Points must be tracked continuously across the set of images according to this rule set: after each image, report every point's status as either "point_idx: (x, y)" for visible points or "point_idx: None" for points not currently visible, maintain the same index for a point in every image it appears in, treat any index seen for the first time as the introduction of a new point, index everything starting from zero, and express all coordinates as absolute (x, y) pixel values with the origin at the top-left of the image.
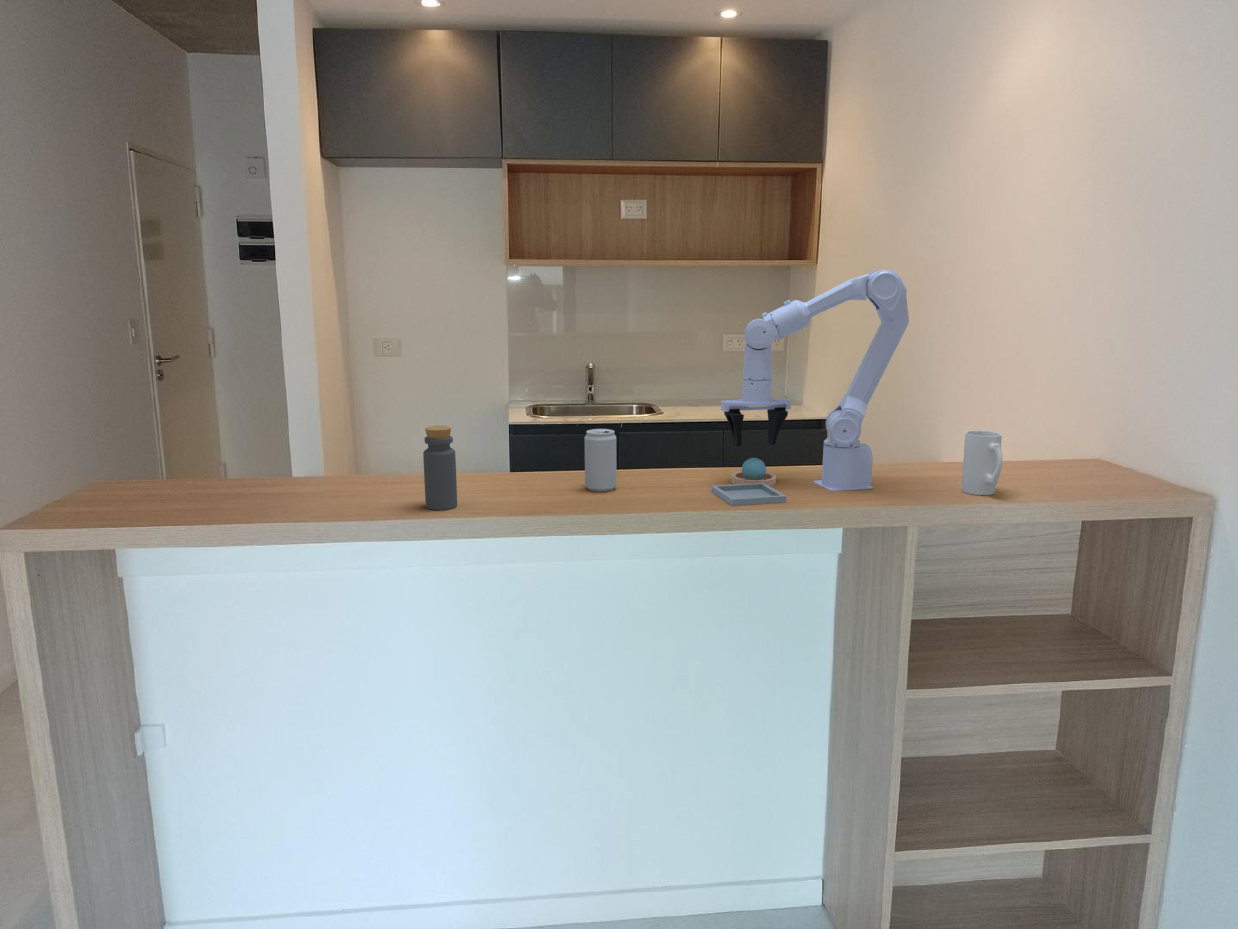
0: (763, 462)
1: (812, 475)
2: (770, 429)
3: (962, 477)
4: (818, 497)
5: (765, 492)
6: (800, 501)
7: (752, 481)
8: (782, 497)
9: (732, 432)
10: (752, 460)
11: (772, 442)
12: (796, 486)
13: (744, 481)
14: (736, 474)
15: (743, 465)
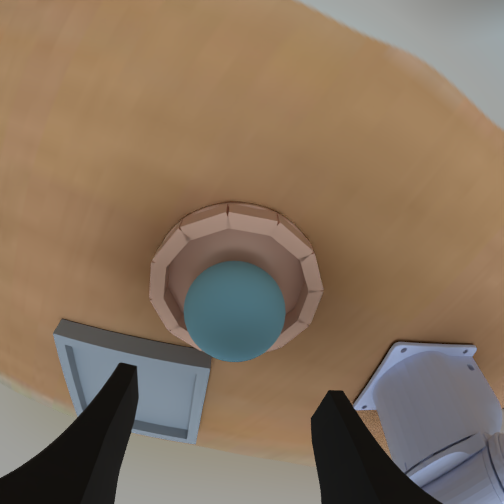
0: (270, 346)
1: (470, 265)
2: (342, 461)
3: (501, 429)
4: (297, 420)
5: (189, 389)
6: (239, 427)
7: (189, 343)
8: (186, 441)
9: (89, 413)
10: (213, 353)
11: (312, 428)
12: (333, 348)
13: (168, 328)
14: (191, 238)
15: (186, 313)
